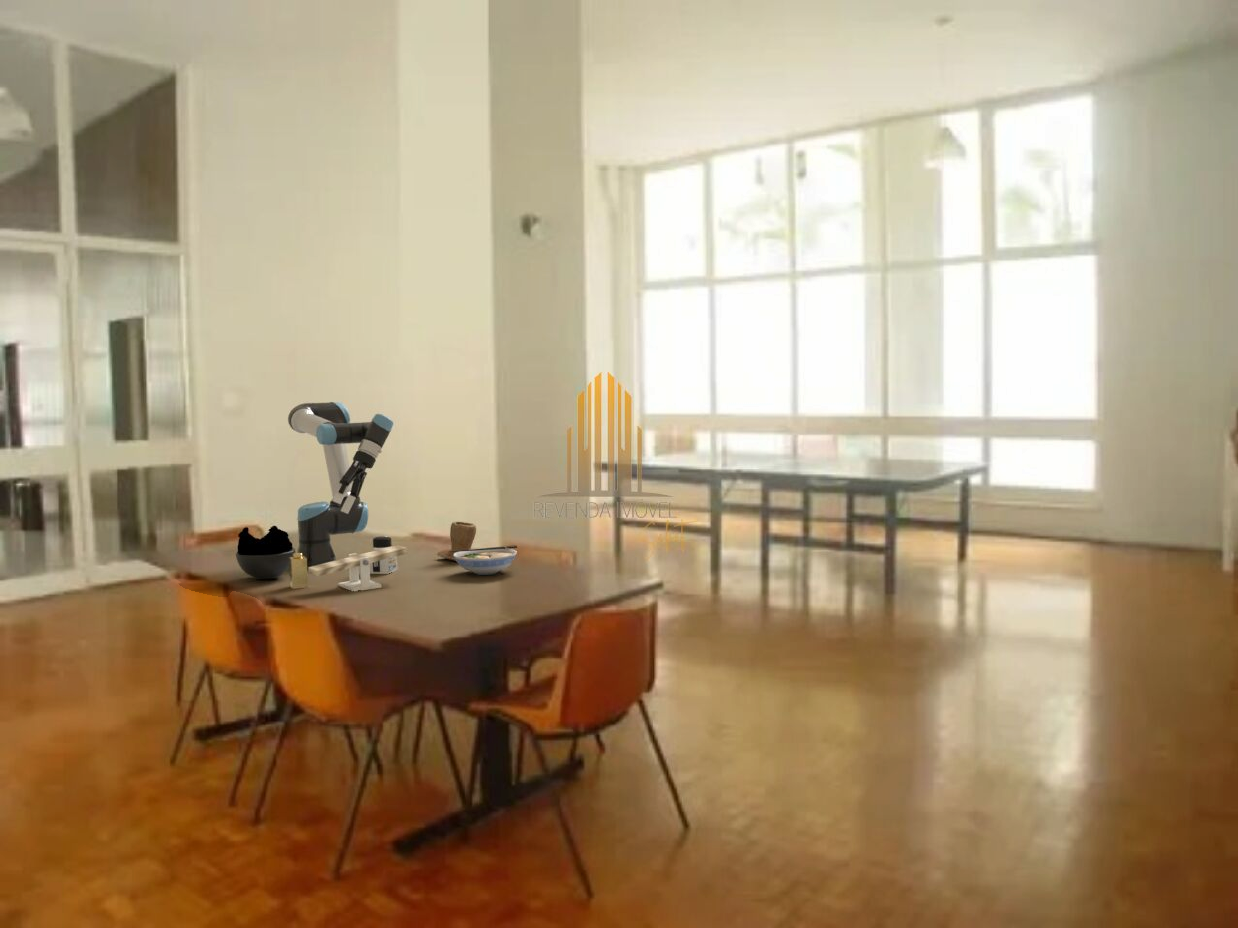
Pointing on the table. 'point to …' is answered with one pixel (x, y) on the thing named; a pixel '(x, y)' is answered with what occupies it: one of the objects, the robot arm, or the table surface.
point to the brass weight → (298, 571)
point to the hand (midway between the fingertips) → (340, 507)
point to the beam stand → (364, 581)
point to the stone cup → (459, 538)
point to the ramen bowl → (485, 559)
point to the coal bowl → (264, 553)
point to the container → (386, 564)
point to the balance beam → (357, 560)
